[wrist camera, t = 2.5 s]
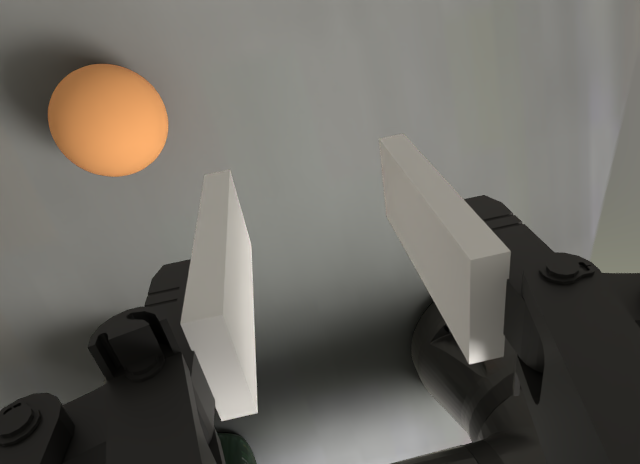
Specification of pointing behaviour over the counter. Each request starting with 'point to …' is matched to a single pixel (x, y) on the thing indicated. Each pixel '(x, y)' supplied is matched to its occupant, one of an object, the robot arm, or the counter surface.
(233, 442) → the coffee jar
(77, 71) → the ball
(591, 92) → the counter surface
